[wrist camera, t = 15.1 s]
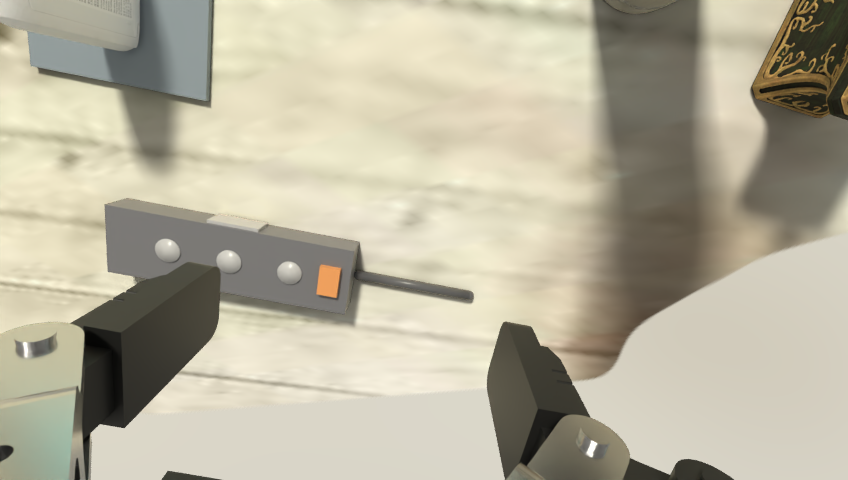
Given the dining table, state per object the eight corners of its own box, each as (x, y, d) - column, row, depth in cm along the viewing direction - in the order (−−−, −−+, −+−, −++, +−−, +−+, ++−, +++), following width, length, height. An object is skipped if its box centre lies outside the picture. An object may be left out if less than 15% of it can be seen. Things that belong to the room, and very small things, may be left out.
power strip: (127, 195, 41) (99, 202, 38) (481, 262, 43) (485, 275, 39) (129, 261, 43) (103, 273, 40) (465, 322, 45) (468, 339, 42)
